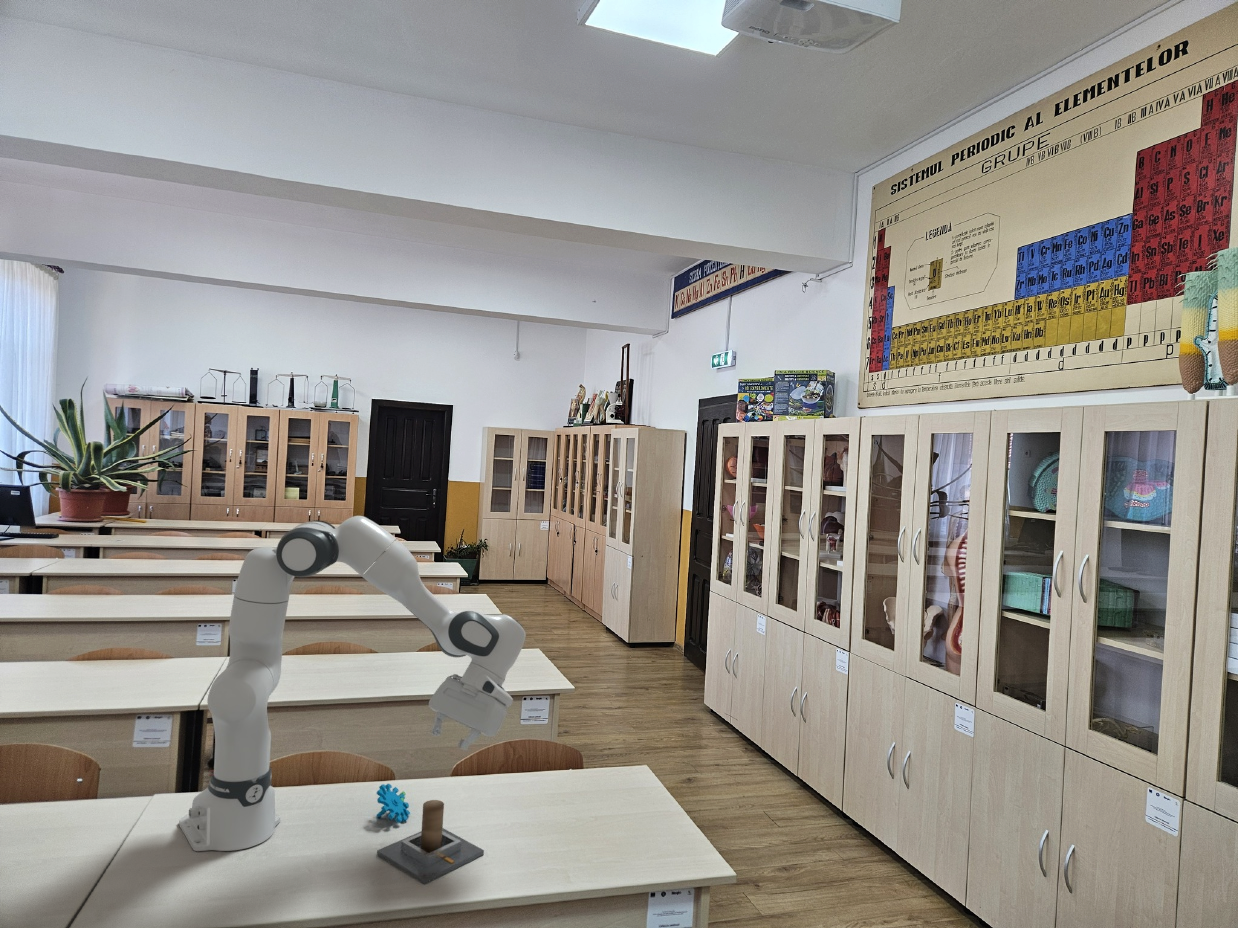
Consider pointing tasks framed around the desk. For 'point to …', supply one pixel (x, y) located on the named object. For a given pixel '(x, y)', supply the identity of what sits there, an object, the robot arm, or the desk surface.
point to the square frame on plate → (429, 856)
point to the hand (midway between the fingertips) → (447, 741)
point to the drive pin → (432, 825)
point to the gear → (392, 803)
